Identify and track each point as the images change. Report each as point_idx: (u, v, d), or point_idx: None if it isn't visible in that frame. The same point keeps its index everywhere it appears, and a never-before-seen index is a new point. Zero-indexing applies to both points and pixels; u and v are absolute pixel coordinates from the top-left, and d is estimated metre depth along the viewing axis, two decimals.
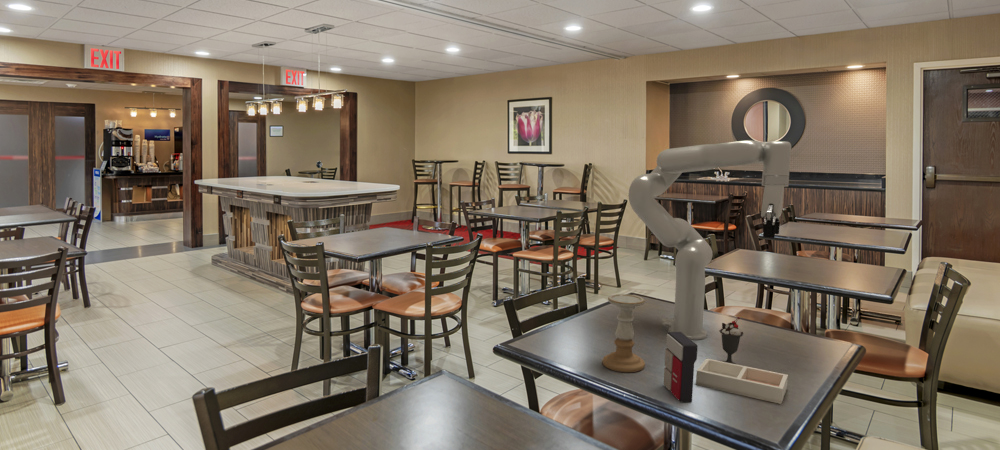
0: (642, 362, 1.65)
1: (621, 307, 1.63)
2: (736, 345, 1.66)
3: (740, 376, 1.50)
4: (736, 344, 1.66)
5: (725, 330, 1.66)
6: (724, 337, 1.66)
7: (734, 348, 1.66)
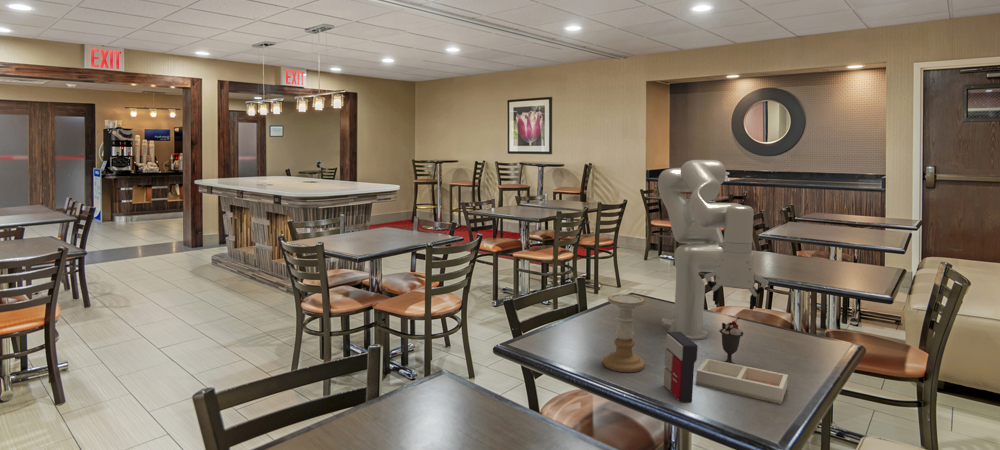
0: (642, 362, 1.65)
1: (621, 307, 1.63)
2: (736, 345, 1.66)
3: (740, 376, 1.50)
4: (736, 344, 1.66)
5: (725, 330, 1.66)
6: (724, 337, 1.66)
7: (734, 348, 1.66)
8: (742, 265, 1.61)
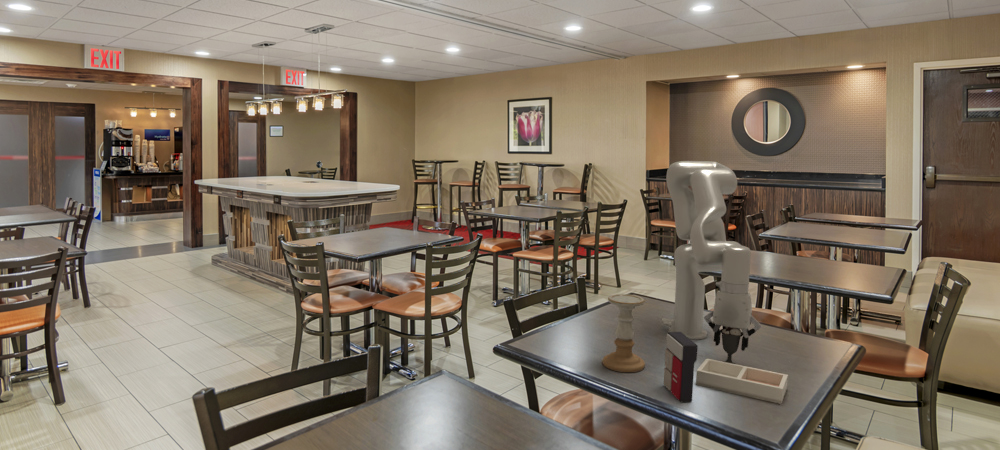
0: (642, 362, 1.65)
1: (621, 307, 1.63)
2: (736, 345, 1.66)
3: (740, 376, 1.50)
4: (736, 344, 1.65)
5: (725, 330, 1.66)
6: (724, 337, 1.66)
7: (734, 348, 1.66)
8: (739, 305, 1.63)
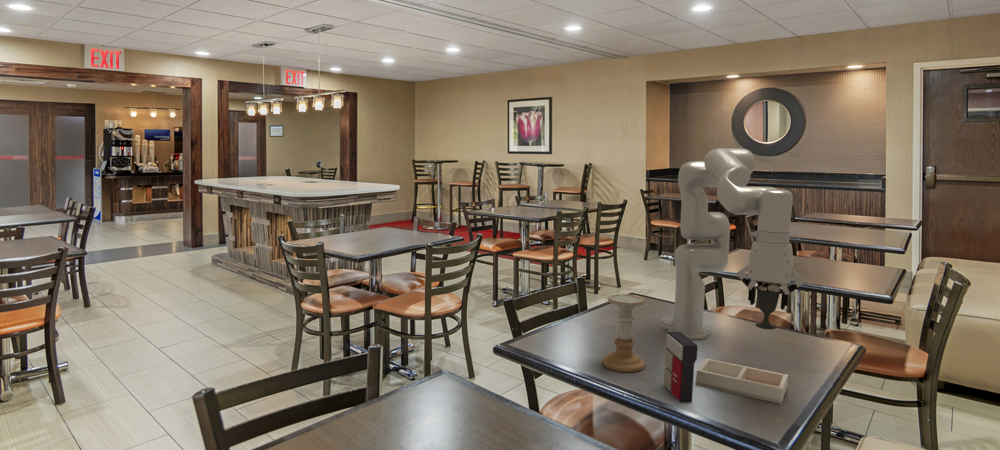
0: (642, 362, 1.65)
1: (621, 307, 1.63)
2: (775, 303, 1.45)
3: (740, 376, 1.50)
4: (775, 302, 1.45)
5: (762, 286, 1.46)
6: (761, 294, 1.46)
7: (772, 307, 1.45)
8: (779, 257, 1.42)
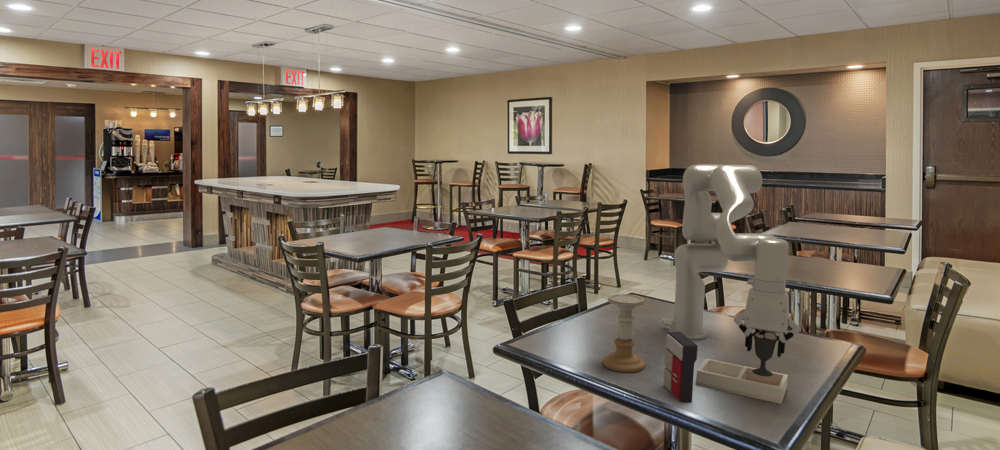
0: (642, 362, 1.65)
1: (621, 307, 1.63)
2: (771, 351, 1.46)
3: (740, 376, 1.50)
4: (771, 349, 1.46)
5: (759, 334, 1.47)
6: (758, 341, 1.47)
7: (769, 354, 1.47)
8: (775, 306, 1.44)
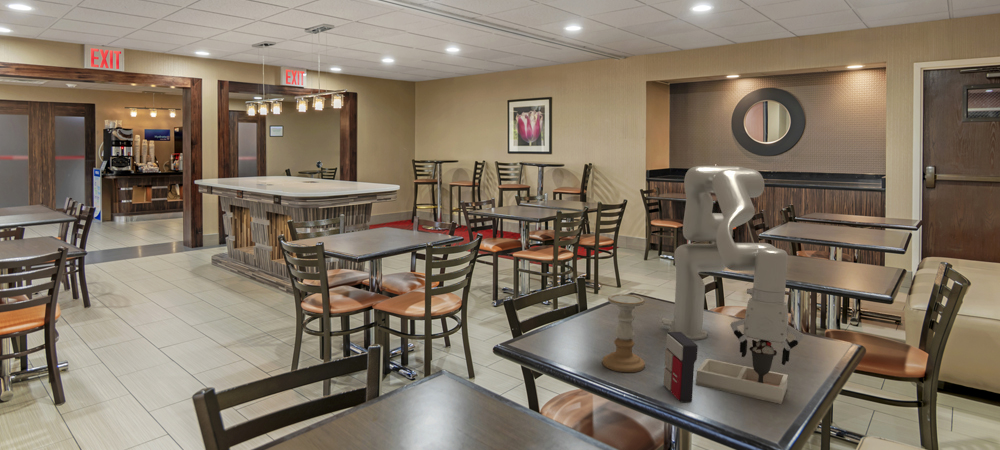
0: (642, 362, 1.65)
1: (621, 307, 1.63)
2: (769, 365, 1.47)
3: (740, 376, 1.50)
4: (769, 364, 1.47)
5: (756, 348, 1.48)
6: (755, 356, 1.48)
7: (767, 369, 1.47)
8: (774, 316, 1.44)
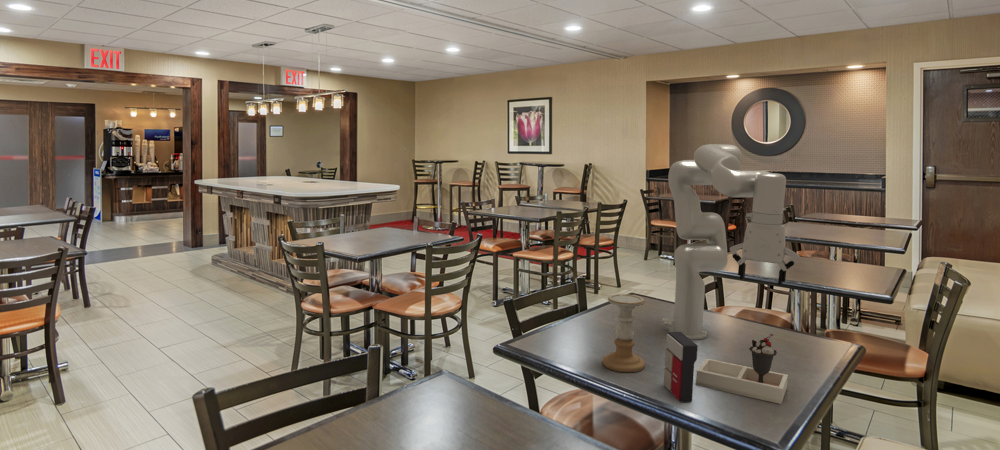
0: (642, 362, 1.65)
1: (621, 307, 1.63)
2: (769, 365, 1.47)
3: (740, 376, 1.50)
4: (769, 364, 1.47)
5: (756, 348, 1.48)
6: (755, 356, 1.48)
7: (767, 369, 1.47)
8: (772, 237, 1.50)
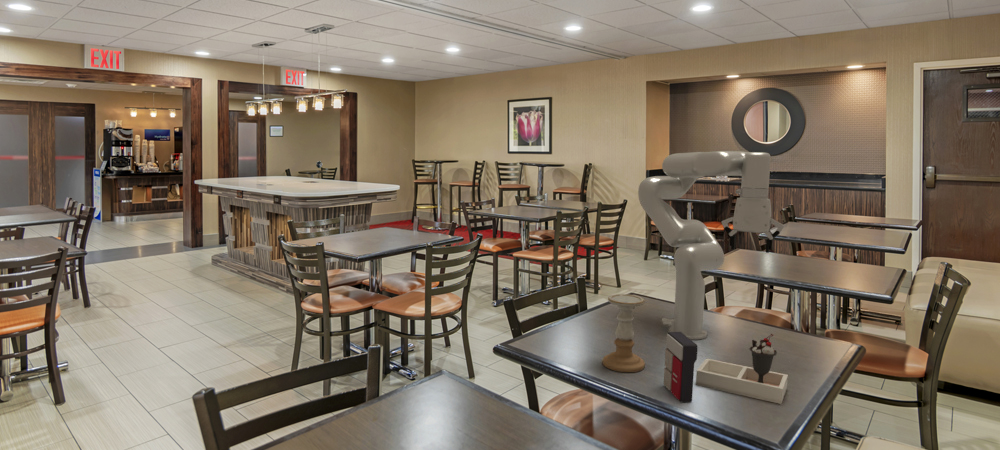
0: (642, 362, 1.65)
1: (621, 307, 1.63)
2: (769, 365, 1.47)
3: (740, 376, 1.50)
4: (769, 364, 1.47)
5: (756, 348, 1.48)
6: (755, 356, 1.48)
7: (767, 369, 1.47)
8: (759, 209, 1.66)
